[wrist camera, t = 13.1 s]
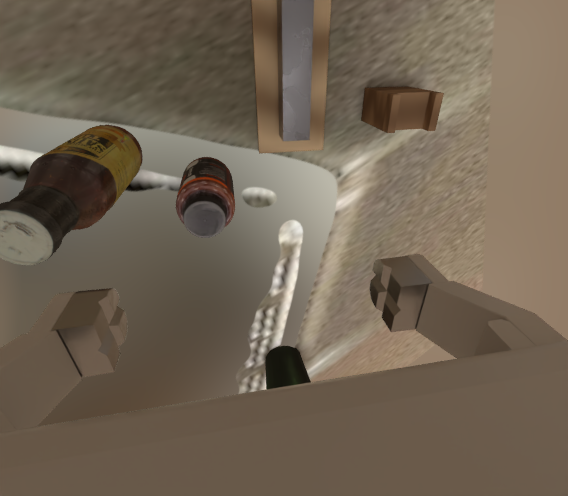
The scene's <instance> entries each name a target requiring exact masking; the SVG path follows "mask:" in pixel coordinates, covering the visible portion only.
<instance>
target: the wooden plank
mask: <svg viewBox="0 0 568 496" xmlns="http://www.w3.org/2000/svg"><path fill="white" fill-rule="evenodd" d="M251 5H252V25H253V44H254V64H255V84H256V104H257V124H258V144H259V153H275V152H293V151H311V150H323V141H324V123H325V105H326V87H327V68H328V50H329V32H330V13H331V0H314V17H313V48H312V79H311V110H310V140H300V141H283V140H282V139H281V138H280V136H279V104H278V44H277V0H251Z"/></svg>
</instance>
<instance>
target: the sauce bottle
mask: <svg viewBox="0 0 568 496" xmlns="http://www.w3.org/2000/svg"><path fill="white" fill-rule="evenodd" d="M141 164H142V150H141V147H140V145H139V143H138V141H137V140H136V138H135V137H134V136H133V135H132V134H131V133H129V132H128V131H126V130H125V129H123V128H120V127H117V126H112V125H100V126H96V127H92V128H90V129H88V130H86V131H85V132H83V133H81V134H80V135H78V136H76V137H74V138H72V139H70V140H69V141H67V142H65V143H63V144H62V145H60V146H58V147H56V148H55V149H53V150H51V151H50V152H48V153H46V154H44V155H42V156H41V157H39V158H38V159H36V160H35V161H34V162H33V164H32V165H31V168H30V172H29V175H28V178H27V180H26V183H25V186H24V189H23V190H22V191H21V192H20V193H19V195H18V196H17V197H15V198H14V199H12V200H11V201H10V202H5V203H1V204H0V258H1V259H3V260H6V261H9V262H11V263H15V264H20V265H35V264H38V263H41V262H43V261H46V260H47V259H49V258H50V257H51V256H52V255H53V253H54V252H56V250H57V249H58V248H59V246H60V244H61V242H62V239H63V237H64V236H65V235H66V234H67V233H68V232H70V231H71V230H76V229H83V228H88V227H90V226H91V225H93V224H94V223H96V222H97V221H98V220H100V219H101V218H102V217H103V216H104V215H105V213H106V212H107V211H108V210H109V209H110V208H111V207H112V206H113V205H114V203H115V202H116V201H117V200H118V198H119V197H120V196H121V194H122V193H123V192H124V190H125V189H126V188H127V186H128V185H129V184H130V182H131V181H132V180H133V178H134V177H135V176H136V174H137V173H138V172H139V169H140V166H141Z"/></svg>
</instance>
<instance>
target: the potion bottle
mask: <svg viewBox="0 0 568 496" xmlns="http://www.w3.org/2000/svg"><path fill="white" fill-rule="evenodd" d="M265 365H266V388H267V389H273V388H279V387H285V386H292V385H298V384H304V383H310V382H311V381H310V379H309V376H308V374H307V371H306V368H305V366H304V363H303V361H302V358H301V355H300V353H299V351H298V350H297V349H295V348H293V347H290V346H281V347H277V348H275V349H273V350H272V351H271V352H270V353H269V354H268V355H267V357H266V360H265Z"/></svg>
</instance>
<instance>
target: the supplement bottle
mask: <svg viewBox="0 0 568 496" xmlns="http://www.w3.org/2000/svg"><path fill="white" fill-rule="evenodd" d="M176 210H177V214H178V216H179V218H180V220H181V221H182V222H183V223H184V225H185V227H186V228H187V230H188V231H189V232H190V233H192V234H193V235H195V236H198V237H201V238H210V237H213V236H216V235H217V234H219V233H220V232H221V231H222V230H223V228H224V227H226V226H227V225H228V224H229V223H230V221H231V220H232V217H233V215H234V211H235V201H234V191H233V181H232V176H231V173H230V171H229V169H228V168H227V167H226V165H225V164H223V163H222V162H221V161H219V160H217V159H214V158H211V157H202V158H199V159H196V160H194V161H193V162H191V163H190V164H189V165H188V166H187V168H186V170H185V171H184V174H183V177H182V181H181V185H180V188H179V192H178V195H177V200H176Z"/></svg>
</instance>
